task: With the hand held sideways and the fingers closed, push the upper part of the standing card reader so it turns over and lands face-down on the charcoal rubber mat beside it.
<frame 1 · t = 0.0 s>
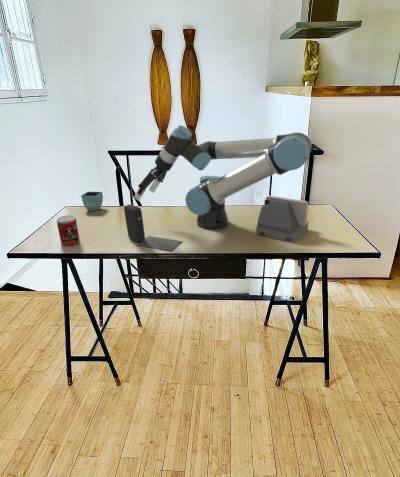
hand: (144, 194, 160), 15 cm above the table, tool tilted 35°, fingers open, 13 cm apart
card reader: (137, 239, 150), on the table, touching mat
mat: (159, 243, 146), on the table
flower pot: (94, 209, 189), on the table
canned food: (70, 242, 149), on the table
grey tapered box: (281, 232, 157), on the table
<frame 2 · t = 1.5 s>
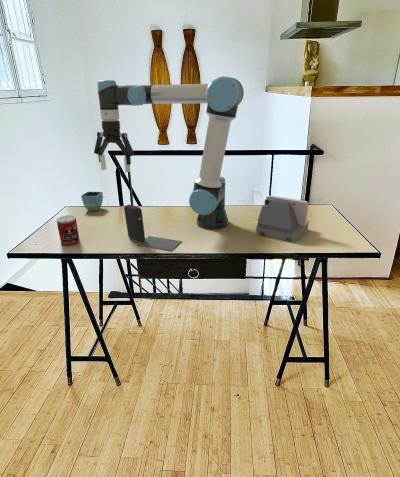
hand: (115, 170, 155), 27 cm above the table, tool pointing down, fingers open, 12 cm apart
card reader: (137, 240, 150), on the table, touching mat
everything else where it was.
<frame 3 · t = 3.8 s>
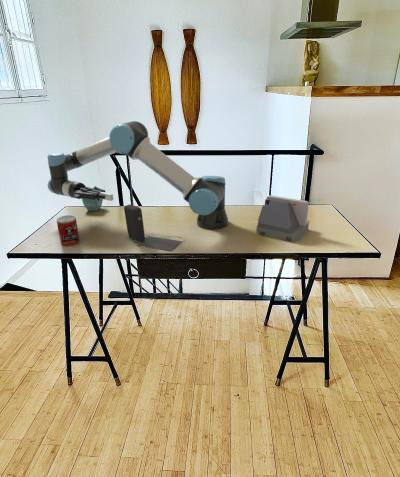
hand: (111, 197, 149), 17 cm above the table, tool horizontal, fingers closed
nothing on the table moved.
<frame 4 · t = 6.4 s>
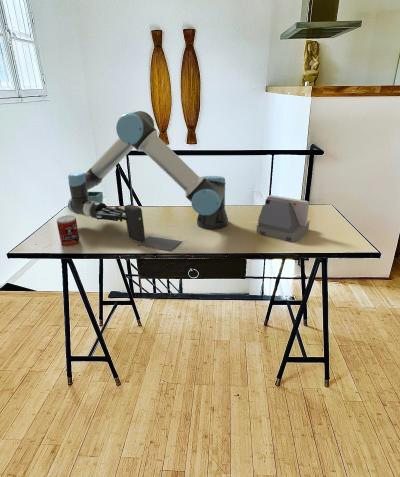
hand: (135, 218, 146), 10 cm above the table, tool horizontal, fingers closed
card reader: (137, 239, 150), on the table, touching mat
everything else where it was.
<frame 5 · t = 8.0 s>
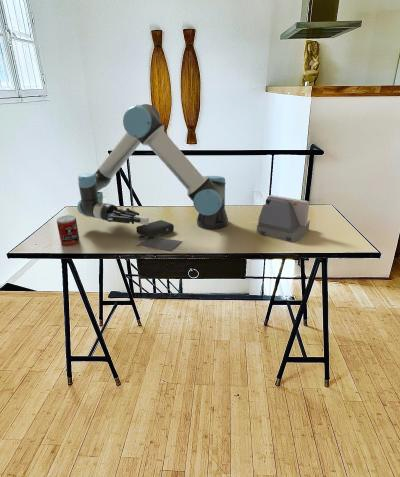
hand: (147, 221, 143), 10 cm above the table, tool horizontal, fingers closed
card reader: (141, 233, 150), point 3 cm above the table, touching mat
everything else where it was.
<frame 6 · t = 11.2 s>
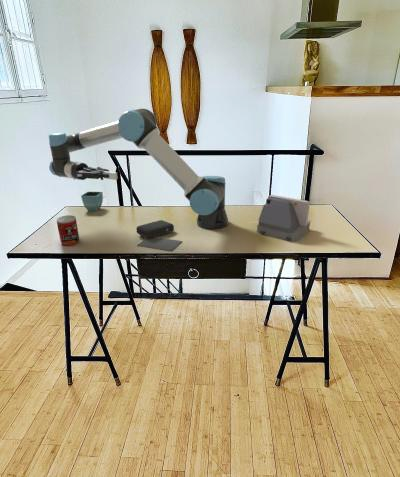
hand: (116, 176, 143), 27 cm above the table, tool horizontal, fingers closed
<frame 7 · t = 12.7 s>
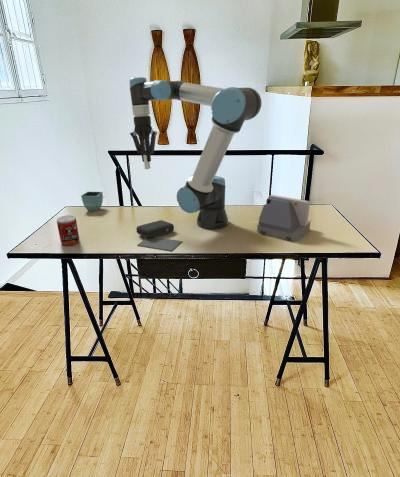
hand: (147, 168, 163), 26 cm above the table, tool pointing down, fingers closed
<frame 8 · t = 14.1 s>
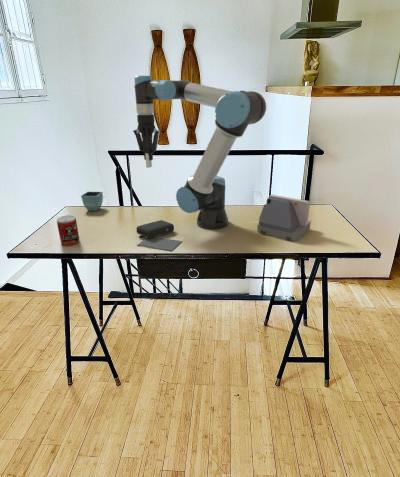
hand: (149, 167, 163), 26 cm above the table, tool pointing down, fingers closed
at the end: card reader tilted 94°; card reader inside the target area (4.4 cm from its centre), point 2.7 cm above the table; the gripper is holding nothing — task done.
